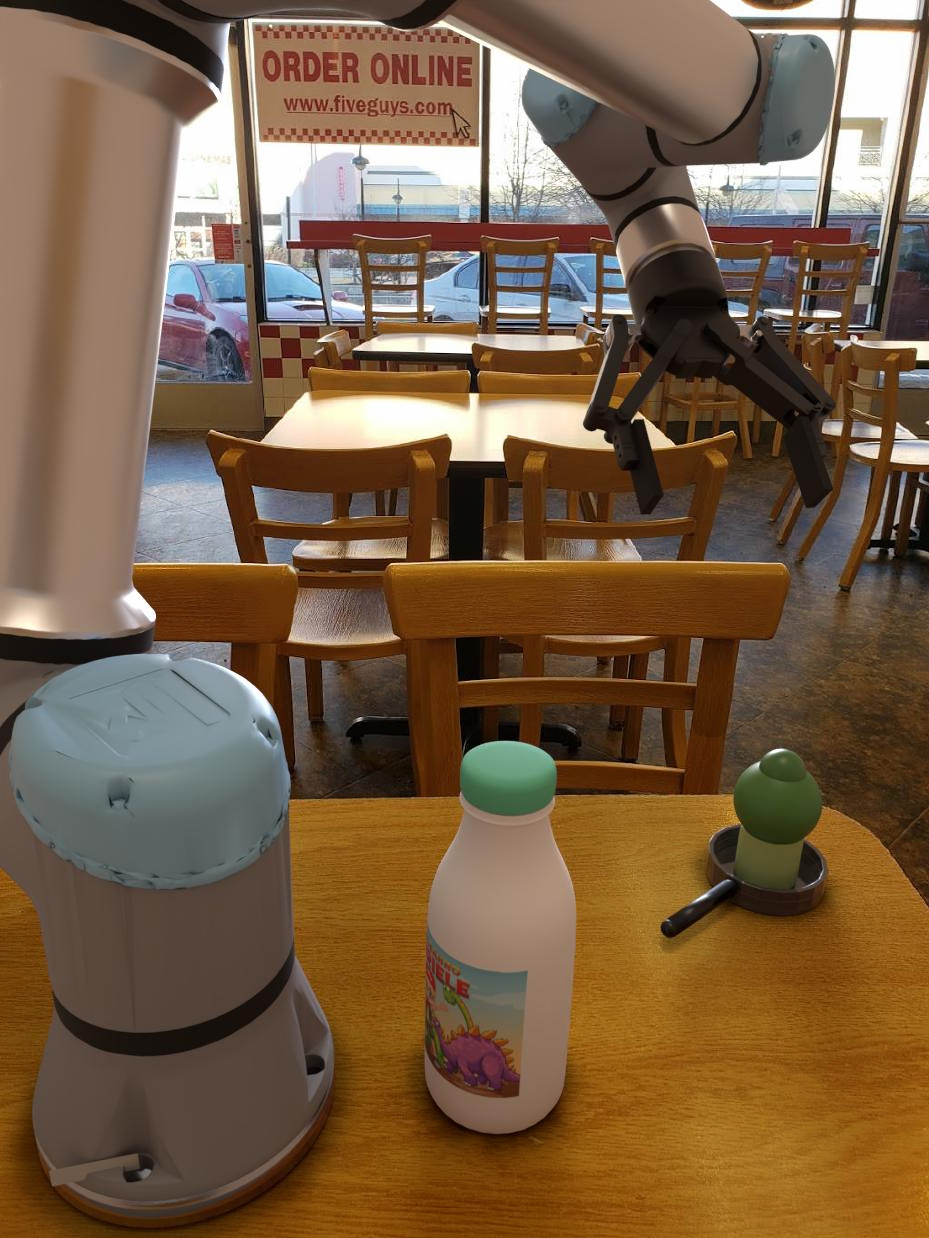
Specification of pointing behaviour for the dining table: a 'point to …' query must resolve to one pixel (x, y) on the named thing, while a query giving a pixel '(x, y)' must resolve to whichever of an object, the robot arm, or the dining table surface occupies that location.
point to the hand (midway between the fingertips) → (737, 502)
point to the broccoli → (774, 818)
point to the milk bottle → (500, 948)
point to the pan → (763, 898)
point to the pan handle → (698, 908)
